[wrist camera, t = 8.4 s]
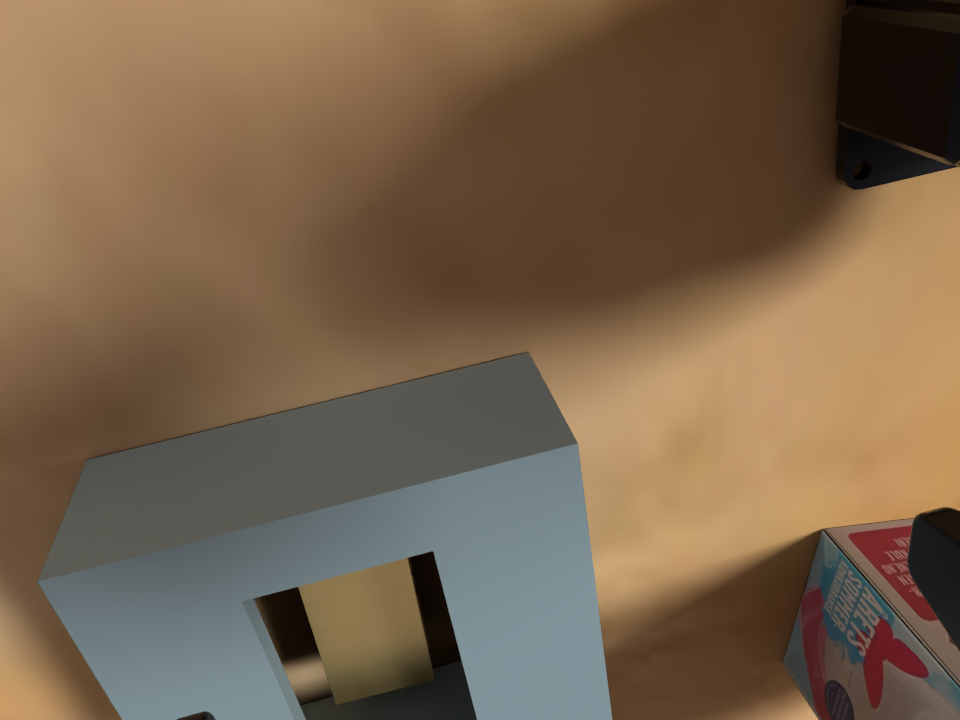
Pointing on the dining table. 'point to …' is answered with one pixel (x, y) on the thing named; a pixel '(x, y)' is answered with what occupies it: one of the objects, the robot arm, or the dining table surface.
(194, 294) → the dining table surface
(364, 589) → the tan wooden post
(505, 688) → the blue-grey hollow frame
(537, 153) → the dining table surface
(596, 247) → the dining table surface
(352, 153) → the dining table surface
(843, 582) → the juice carton
